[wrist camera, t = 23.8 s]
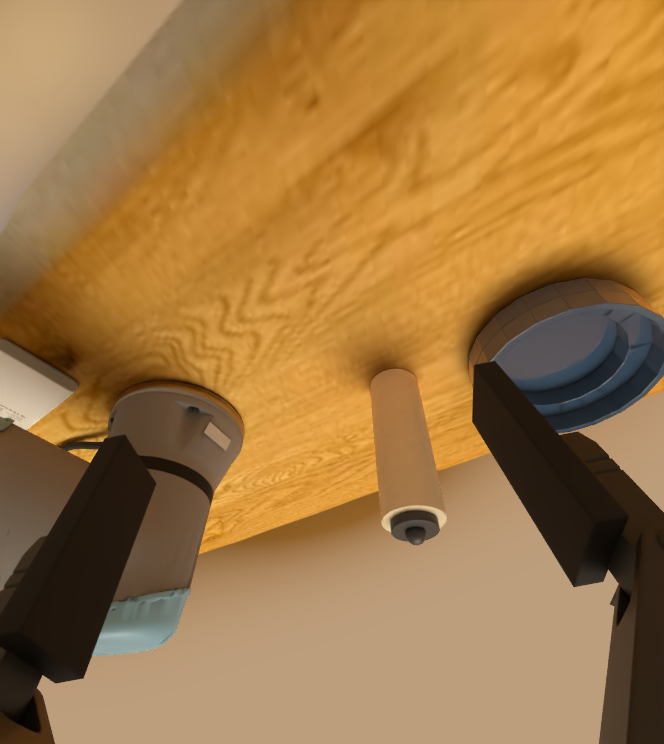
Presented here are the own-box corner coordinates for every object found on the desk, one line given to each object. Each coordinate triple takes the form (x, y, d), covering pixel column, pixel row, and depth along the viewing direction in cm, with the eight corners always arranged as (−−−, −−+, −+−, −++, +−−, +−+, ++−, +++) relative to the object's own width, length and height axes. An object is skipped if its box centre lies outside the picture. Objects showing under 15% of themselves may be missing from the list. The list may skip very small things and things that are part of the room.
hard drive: (81, 383, 43) (28, 425, 48) (3, 335, 38) (-46, 388, 43) (74, 393, 41) (20, 436, 47) (-8, 346, 37) (-57, 398, 42)
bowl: (466, 412, 45) (476, 443, 42) (467, 294, 34) (481, 324, 31) (617, 391, 42) (641, 423, 39) (669, 257, 32) (707, 285, 28)
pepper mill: (373, 404, 44) (387, 560, 32) (366, 372, 41) (378, 532, 28) (419, 398, 44) (452, 555, 31) (415, 364, 40) (451, 525, 27)
